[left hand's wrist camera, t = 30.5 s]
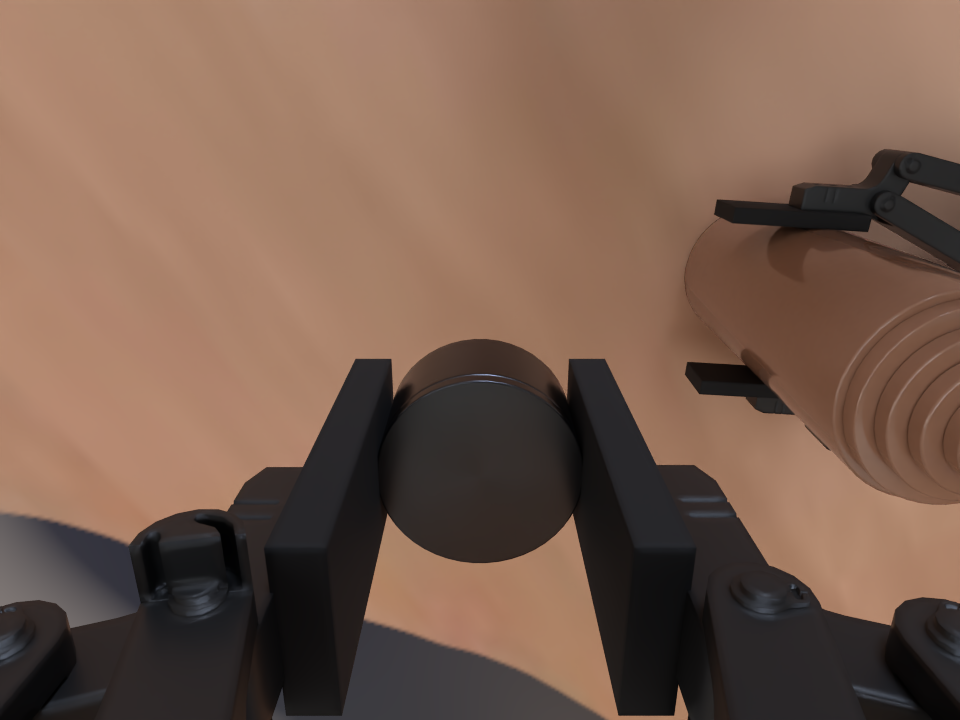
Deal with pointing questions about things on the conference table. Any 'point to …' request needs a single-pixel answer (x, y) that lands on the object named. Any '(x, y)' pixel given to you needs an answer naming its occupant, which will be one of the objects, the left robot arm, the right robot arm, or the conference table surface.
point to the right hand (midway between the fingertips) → (708, 298)
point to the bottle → (844, 344)
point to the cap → (480, 453)
